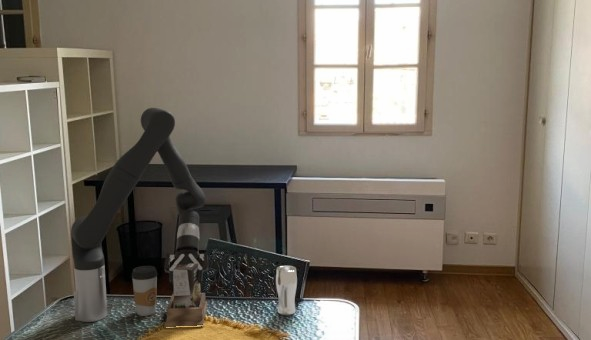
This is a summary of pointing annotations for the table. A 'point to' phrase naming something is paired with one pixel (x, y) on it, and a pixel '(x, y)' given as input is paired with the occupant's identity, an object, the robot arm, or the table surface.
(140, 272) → the coffee cup
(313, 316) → the table surface
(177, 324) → the brown open box holder
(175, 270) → the coffee box
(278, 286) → the beer glass
